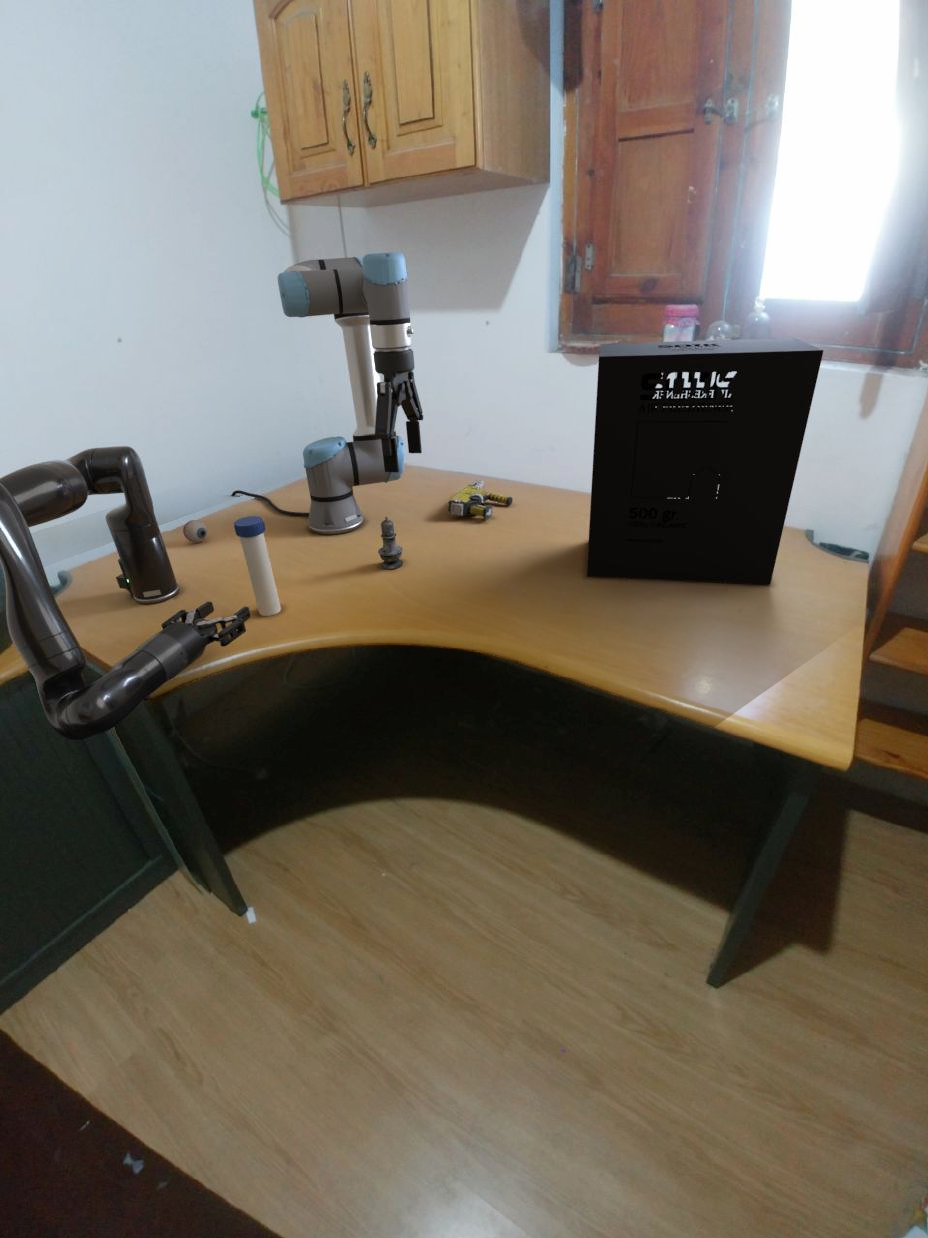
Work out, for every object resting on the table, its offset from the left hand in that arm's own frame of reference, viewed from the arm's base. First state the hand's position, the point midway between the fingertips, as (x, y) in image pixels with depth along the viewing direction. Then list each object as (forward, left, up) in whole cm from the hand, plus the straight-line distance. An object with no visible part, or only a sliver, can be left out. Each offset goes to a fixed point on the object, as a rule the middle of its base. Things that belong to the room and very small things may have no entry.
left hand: (229, 608), depth 115 cm
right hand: (+25, +32, +20) cm, 45 cm away
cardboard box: (+79, +54, -7) cm, 96 cm away
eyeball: (-43, +39, -7) cm, 58 cm away
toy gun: (+26, +81, -7) cm, 85 cm away
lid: (0, +11, +13) cm, 17 cm away
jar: (0, +11, -7) cm, 13 cm away
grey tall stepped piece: (+16, +38, -7) cm, 42 cm away
